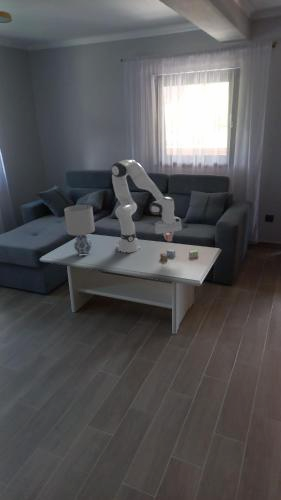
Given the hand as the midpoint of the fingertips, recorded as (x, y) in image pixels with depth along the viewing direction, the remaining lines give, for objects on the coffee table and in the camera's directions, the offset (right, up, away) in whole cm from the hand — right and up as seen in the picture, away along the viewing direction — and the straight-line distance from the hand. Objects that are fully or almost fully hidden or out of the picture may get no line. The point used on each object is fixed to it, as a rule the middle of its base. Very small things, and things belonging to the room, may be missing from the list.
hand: (168, 237), depth 254 cm
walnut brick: (-3, -16, +3) cm, 17 cm away
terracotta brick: (0, -2, +1) cm, 2 cm away
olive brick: (+19, -14, +5) cm, 25 cm away
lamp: (-66, -12, +26) cm, 73 cm away
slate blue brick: (+3, -14, +10) cm, 17 cm away
